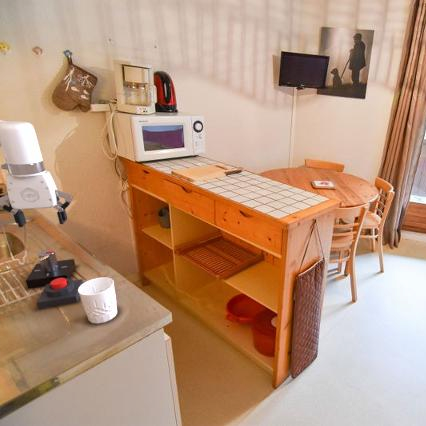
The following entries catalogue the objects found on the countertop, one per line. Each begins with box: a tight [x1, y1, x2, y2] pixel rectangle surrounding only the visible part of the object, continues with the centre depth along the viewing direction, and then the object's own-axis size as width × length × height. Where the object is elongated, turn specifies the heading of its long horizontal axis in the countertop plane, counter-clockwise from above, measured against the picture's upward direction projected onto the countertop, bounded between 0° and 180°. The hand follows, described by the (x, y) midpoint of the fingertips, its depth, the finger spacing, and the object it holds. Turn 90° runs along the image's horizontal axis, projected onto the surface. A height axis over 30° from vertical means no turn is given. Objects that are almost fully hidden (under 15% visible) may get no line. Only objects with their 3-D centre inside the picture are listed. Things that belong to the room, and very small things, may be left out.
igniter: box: [36, 278, 84, 310], centre depth 93 cm, size 9×9×4 cm
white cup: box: [78, 276, 118, 325], centre depth 86 cm, size 8×8×10 cm
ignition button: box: [50, 278, 67, 290], centre depth 92 cm, size 4×4×2 cm
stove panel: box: [25, 258, 76, 290], centre depth 101 cm, size 10×10×3 cm
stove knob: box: [37, 249, 59, 272], centre depth 100 cm, size 4×4×6 cm
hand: (43, 223), depth 94 cm, fingers open, 9 cm apart
